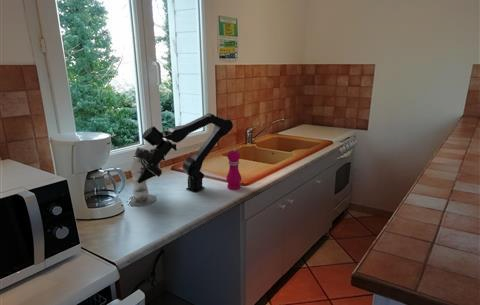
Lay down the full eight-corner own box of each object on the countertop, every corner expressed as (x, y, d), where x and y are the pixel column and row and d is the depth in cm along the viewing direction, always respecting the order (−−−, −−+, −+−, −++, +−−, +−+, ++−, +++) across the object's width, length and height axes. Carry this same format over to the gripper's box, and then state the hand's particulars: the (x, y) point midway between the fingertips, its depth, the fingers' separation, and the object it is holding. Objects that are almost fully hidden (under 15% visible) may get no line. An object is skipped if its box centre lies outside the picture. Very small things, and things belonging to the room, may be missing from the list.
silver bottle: (152, 197, 142) (148, 154, 136) (143, 204, 136) (139, 159, 130) (139, 196, 143) (135, 153, 138) (130, 202, 137) (126, 157, 132)
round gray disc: (163, 198, 141) (163, 198, 141) (139, 209, 131) (139, 209, 131) (143, 192, 148) (143, 191, 148) (119, 201, 138) (119, 201, 138)
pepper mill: (233, 183, 159) (233, 145, 154) (244, 187, 155) (244, 147, 149) (223, 187, 154) (222, 147, 148) (234, 191, 149) (234, 150, 144)
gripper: (140, 136, 142) (117, 163, 140) (152, 145, 127) (125, 176, 124) (159, 151, 148) (136, 177, 146) (172, 161, 133) (147, 191, 130)
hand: (136, 180), depth 136 cm, fingers closed on silver bottle, 6 cm apart
